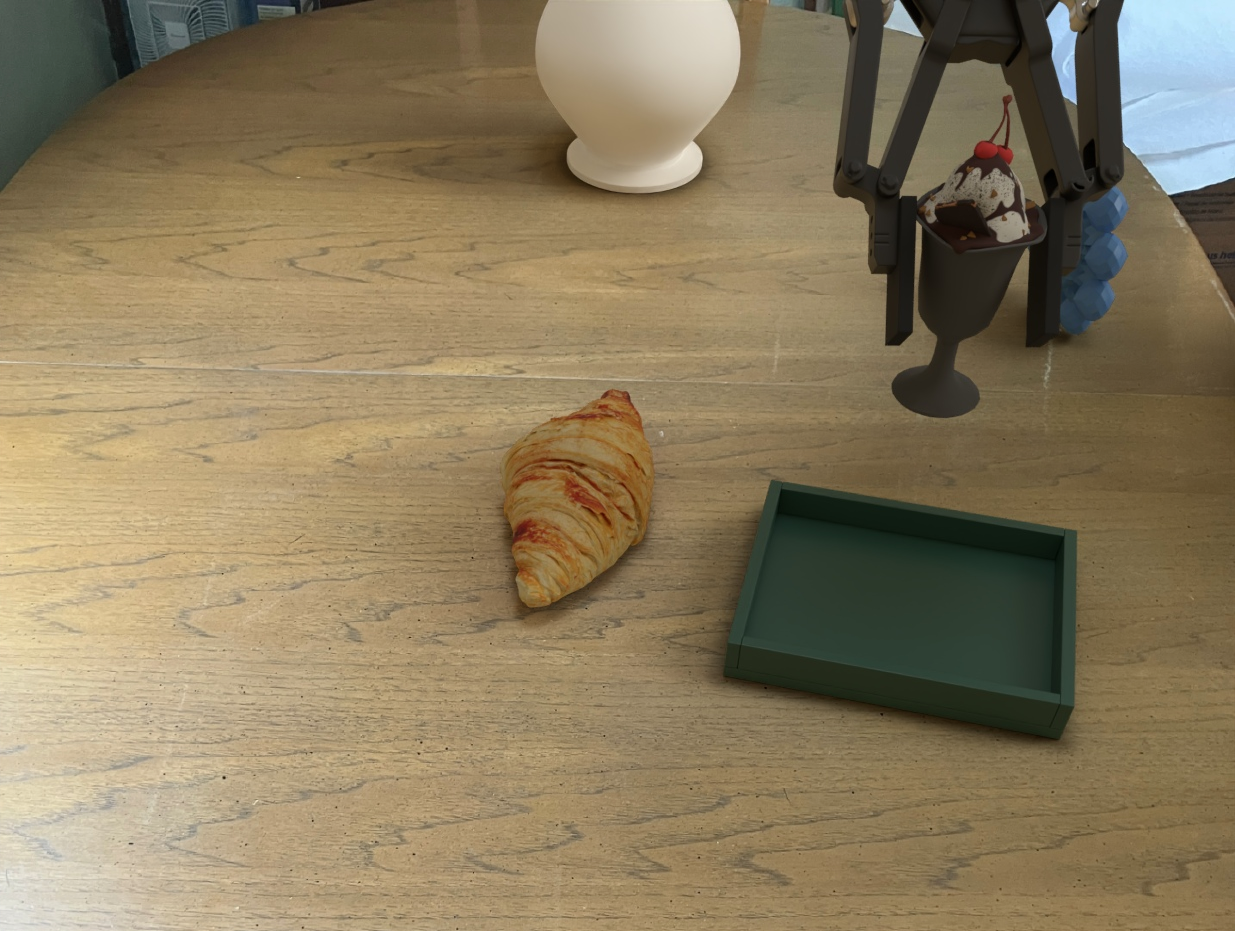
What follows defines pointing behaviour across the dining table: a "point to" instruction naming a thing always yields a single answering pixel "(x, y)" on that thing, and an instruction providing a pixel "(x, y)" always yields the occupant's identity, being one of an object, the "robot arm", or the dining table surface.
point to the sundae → (966, 268)
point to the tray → (910, 608)
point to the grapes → (1094, 264)
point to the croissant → (577, 496)
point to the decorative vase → (637, 84)
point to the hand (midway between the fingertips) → (970, 339)
